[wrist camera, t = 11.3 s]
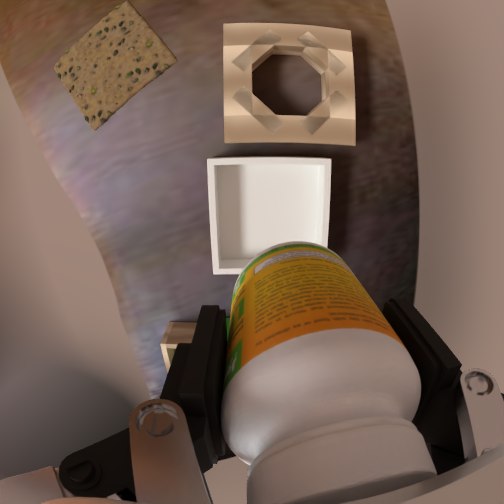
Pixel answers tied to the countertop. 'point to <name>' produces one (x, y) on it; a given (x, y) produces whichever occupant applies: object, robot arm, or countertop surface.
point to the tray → (265, 205)
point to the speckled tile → (112, 63)
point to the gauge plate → (317, 55)
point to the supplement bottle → (317, 384)
